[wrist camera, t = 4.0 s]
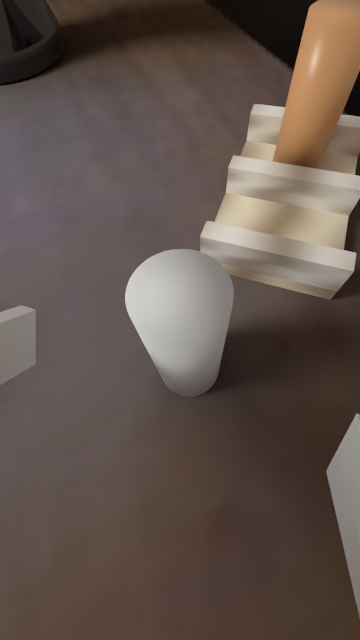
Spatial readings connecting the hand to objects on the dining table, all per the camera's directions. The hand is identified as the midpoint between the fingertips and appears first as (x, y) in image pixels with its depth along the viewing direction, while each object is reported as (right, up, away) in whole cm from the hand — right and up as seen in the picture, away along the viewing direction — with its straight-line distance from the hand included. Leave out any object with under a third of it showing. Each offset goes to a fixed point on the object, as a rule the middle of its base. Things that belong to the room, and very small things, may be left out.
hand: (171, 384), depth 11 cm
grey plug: (+1, -1, +8) cm, 8 cm away
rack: (+9, +12, +14) cm, 21 cm away
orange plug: (+10, +16, +14) cm, 24 cm away
